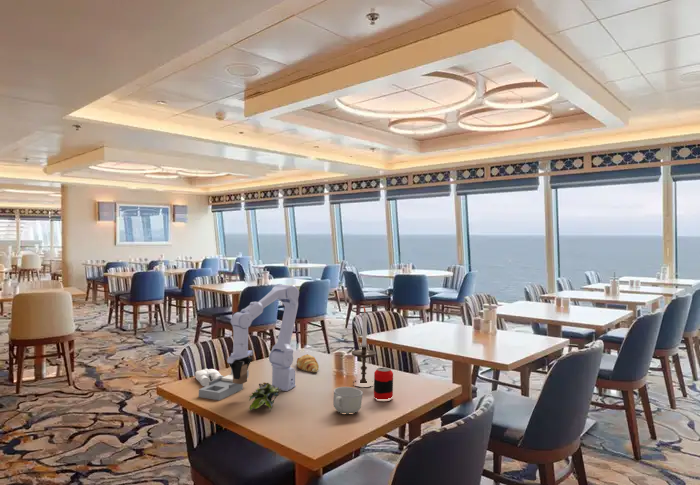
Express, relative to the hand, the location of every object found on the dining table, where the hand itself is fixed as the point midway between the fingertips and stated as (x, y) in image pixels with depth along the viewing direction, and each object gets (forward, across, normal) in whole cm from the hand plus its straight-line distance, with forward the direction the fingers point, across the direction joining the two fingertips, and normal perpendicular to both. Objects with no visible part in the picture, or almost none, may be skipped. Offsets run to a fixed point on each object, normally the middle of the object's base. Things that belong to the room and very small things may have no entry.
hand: (240, 377), depth 192 cm
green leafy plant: (+9, +5, +15) cm, 18 cm away
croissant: (+9, -52, +3) cm, 53 cm away
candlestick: (+9, -39, +38) cm, 55 cm away
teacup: (+9, -3, +44) cm, 45 cm away
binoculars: (+9, -15, -26) cm, 32 cm away
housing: (+9, -3, -11) cm, 14 cm away
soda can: (+9, -24, +52) cm, 58 cm away
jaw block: (+2, 0, 0) cm, 2 cm away
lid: (+5, -13, -11) cm, 17 cm away
